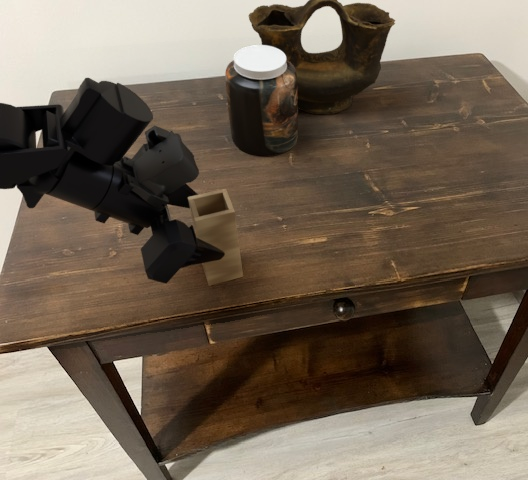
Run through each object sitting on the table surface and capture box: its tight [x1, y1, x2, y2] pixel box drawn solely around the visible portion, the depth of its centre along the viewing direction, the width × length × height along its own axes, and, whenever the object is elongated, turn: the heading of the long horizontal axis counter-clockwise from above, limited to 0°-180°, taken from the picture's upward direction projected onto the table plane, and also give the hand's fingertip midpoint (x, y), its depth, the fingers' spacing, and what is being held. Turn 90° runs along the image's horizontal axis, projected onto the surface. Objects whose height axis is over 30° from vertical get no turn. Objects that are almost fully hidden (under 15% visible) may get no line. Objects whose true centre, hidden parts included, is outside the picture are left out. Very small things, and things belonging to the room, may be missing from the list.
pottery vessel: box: [248, 0, 396, 115], centre depth 95 cm, size 25×11×20 cm, turn 98°
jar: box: [224, 44, 299, 157], centre depth 89 cm, size 12×12×15 cm
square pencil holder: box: [188, 188, 244, 287], centre depth 69 cm, size 5×4×12 cm
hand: (213, 230), depth 67 cm, fingers open, 9 cm apart
